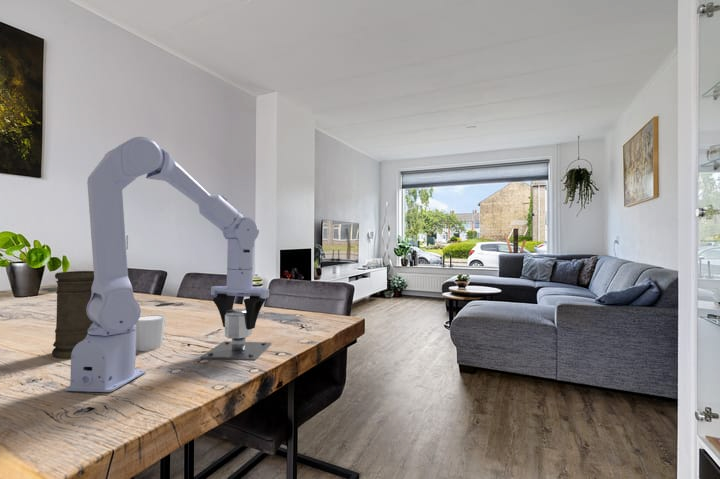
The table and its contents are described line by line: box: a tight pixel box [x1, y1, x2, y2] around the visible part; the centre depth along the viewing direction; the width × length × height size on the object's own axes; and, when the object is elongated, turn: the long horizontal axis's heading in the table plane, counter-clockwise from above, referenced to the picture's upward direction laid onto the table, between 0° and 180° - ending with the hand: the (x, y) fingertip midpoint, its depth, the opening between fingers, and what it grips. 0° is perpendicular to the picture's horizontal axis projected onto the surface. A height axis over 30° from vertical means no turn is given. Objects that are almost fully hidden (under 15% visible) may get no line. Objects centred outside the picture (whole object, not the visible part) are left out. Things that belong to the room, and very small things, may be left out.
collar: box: [224, 307, 253, 339], centre depth 83 cm, size 6×6×6 cm
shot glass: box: [135, 314, 166, 352], centre depth 84 cm, size 7×7×7 cm
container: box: [51, 270, 94, 359], centre depth 80 cm, size 9×9×18 cm
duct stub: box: [200, 337, 272, 361], centre depth 83 cm, size 12×12×3 cm
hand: (238, 327), depth 83 cm, fingers closed on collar, 6 cm apart
